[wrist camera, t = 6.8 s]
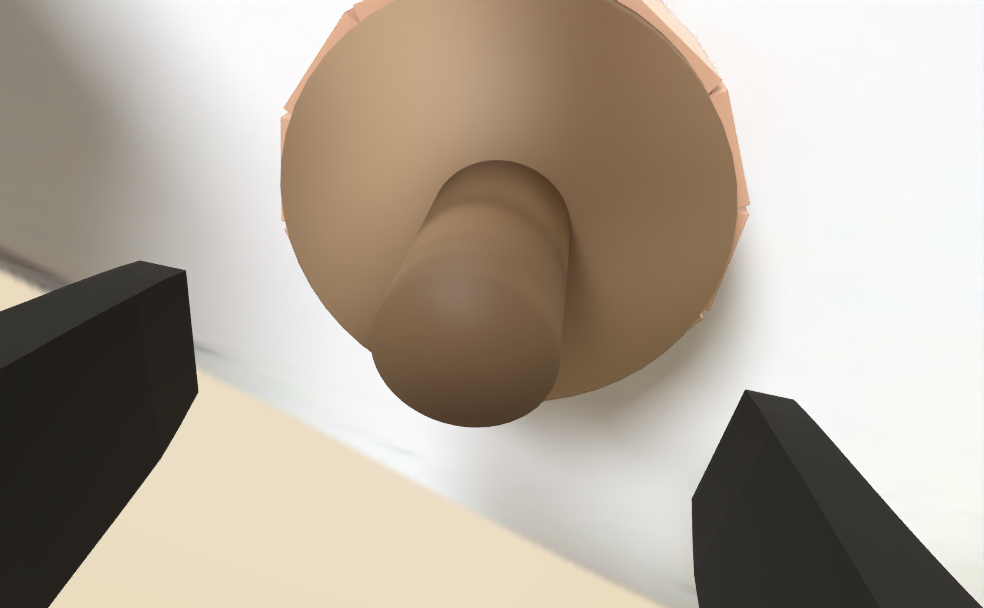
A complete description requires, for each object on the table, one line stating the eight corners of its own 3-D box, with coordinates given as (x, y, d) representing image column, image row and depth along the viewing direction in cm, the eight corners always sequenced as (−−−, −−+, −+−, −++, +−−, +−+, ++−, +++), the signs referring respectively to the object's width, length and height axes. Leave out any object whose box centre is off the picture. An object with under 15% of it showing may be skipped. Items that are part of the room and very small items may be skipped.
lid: (300, 340, 16) (196, 501, 12) (290, -69, 11) (114, -39, 7) (659, 410, 15) (681, 599, 11) (802, 18, 11) (925, 102, 7)
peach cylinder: (342, 260, 20) (282, 349, 16) (359, -96, 15) (278, -87, 11) (647, 325, 19) (659, 430, 16) (769, -14, 14) (827, 23, 11)
